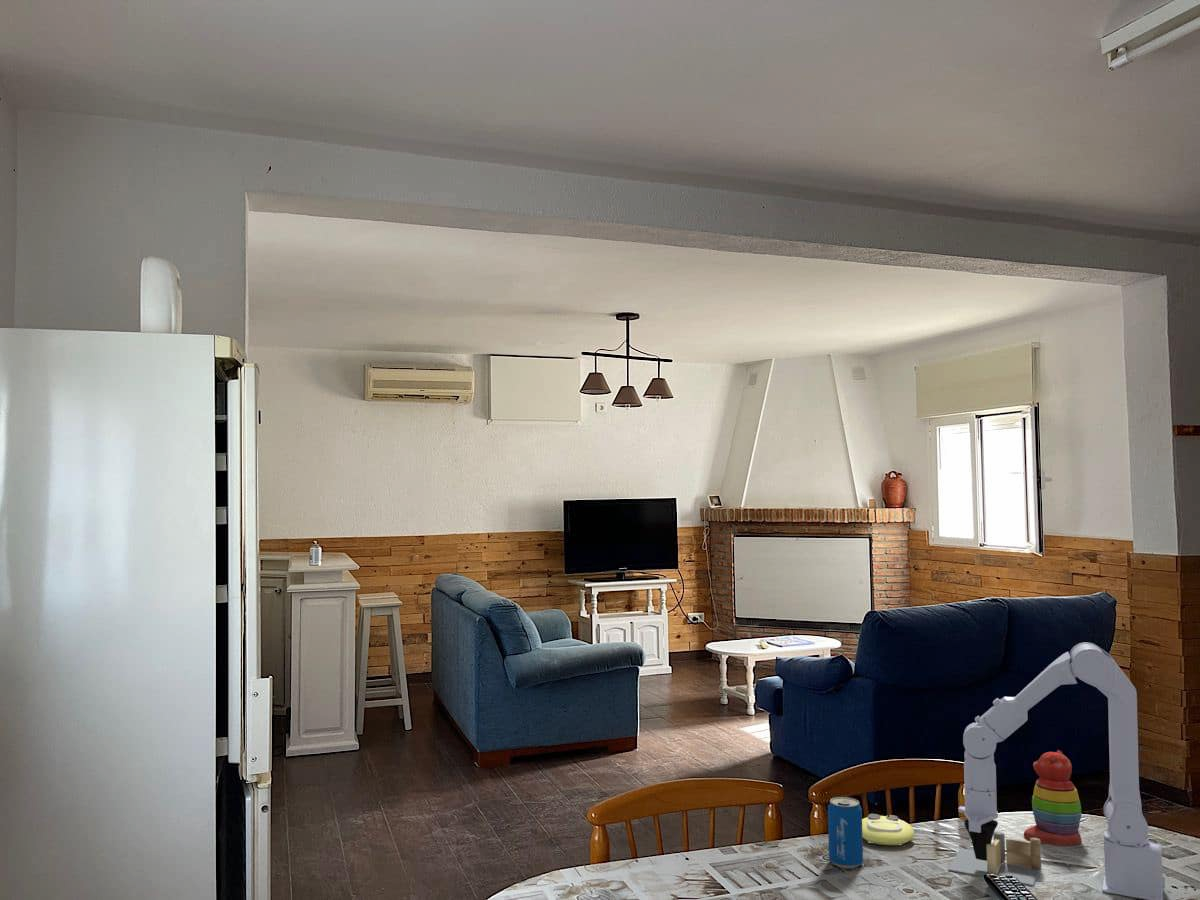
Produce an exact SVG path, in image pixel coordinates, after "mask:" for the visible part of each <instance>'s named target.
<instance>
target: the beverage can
mask: <svg viewBox="0 0 1200 900" xmlns="http://www.w3.org/2000/svg"><path fill="white" fill-rule="evenodd" d="M862 819H863V809H862V807H861V805H860V801H859V800H858V799H856V798H853V797H848V796H839V797H838V796H837V797H832V798H830V800H829V804H828V805H827V823H828V824H827V825H828V826H827V828H828V833H827V834H828V835H827V836H828V860H829V861H830V862H831V863H832V864H833V866H835V865H836V866H835V867H837V866H838V867H837V868H840V867H842V868H841V869H847V868H851V869H855V867H856V868H858V867H859V866H860V865H862V864H863V862H864V850H863V848H864V847H863V846H864V845H863V839H864V838H862ZM857 866H858V867H857Z"/></svg>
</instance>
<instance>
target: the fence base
mask: <svg viewBox="0 0 1200 900" xmlns="http://www.w3.org/2000/svg"><path fill="white" fill-rule="evenodd" d="M1041 845H1042V843H1040V839H1038V838H1030V840H1029V841H1028V840H1022V839H1016V838H1010V837H1005V856H1006V858H1007V864H1012V865H1018V866H1024V867H1029V868H1032V869H1035V870H1039V871H1040V870H1041V869H1042V854H1041V853H1042V852H1041V851H1042V850H1041V849H1042V847H1041Z"/></svg>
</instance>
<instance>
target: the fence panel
mask: <svg viewBox="0 0 1200 900" xmlns="http://www.w3.org/2000/svg"><path fill="white" fill-rule="evenodd" d="M1005 856H1006V837H1005V833H1004V832H1001V831H994V834H993V842H991V844H987V872H988V873H990V874H996V869H997V867H998V866H999V864H1000V862H1004V861H1005Z"/></svg>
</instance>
